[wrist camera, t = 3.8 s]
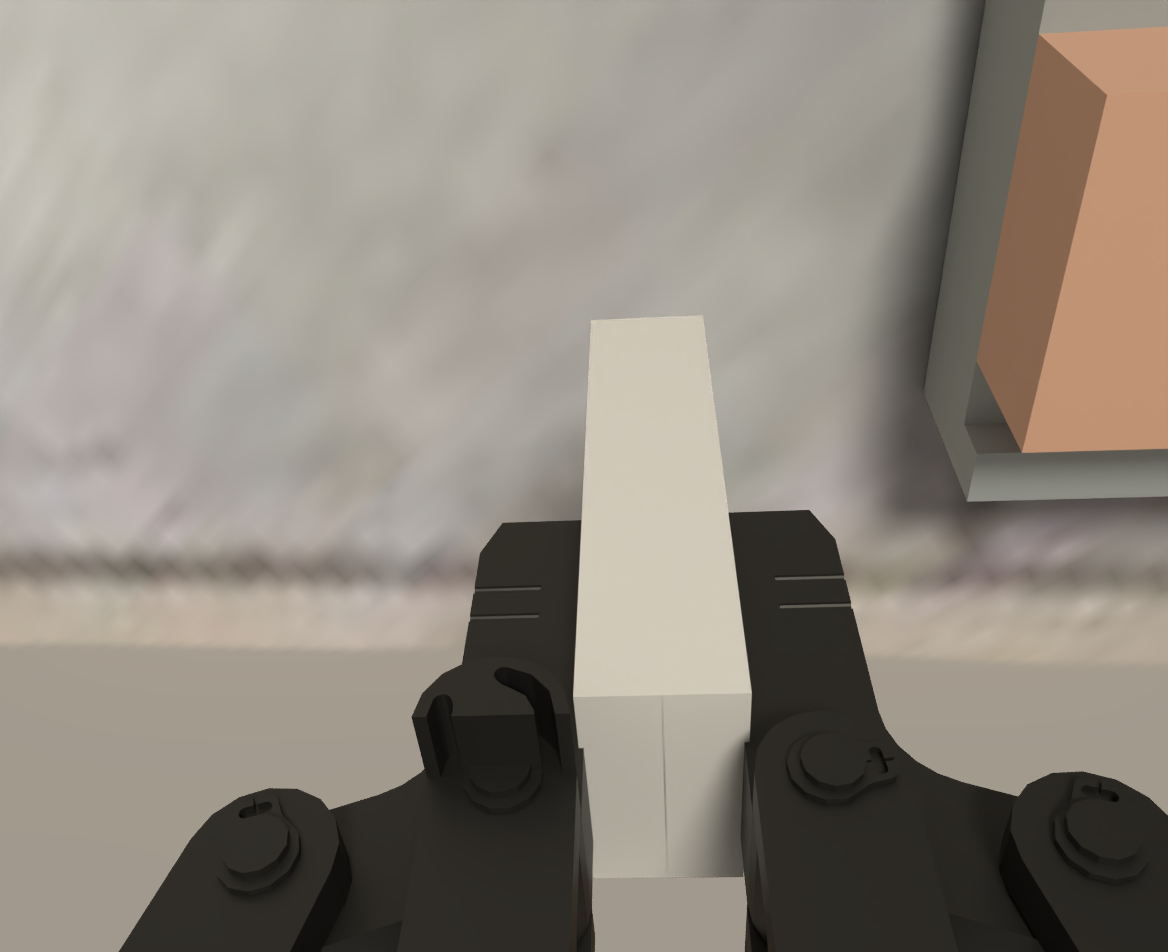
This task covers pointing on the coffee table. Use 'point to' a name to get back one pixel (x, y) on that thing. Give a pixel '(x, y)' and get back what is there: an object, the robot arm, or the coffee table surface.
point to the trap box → (954, 379)
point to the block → (1086, 250)
